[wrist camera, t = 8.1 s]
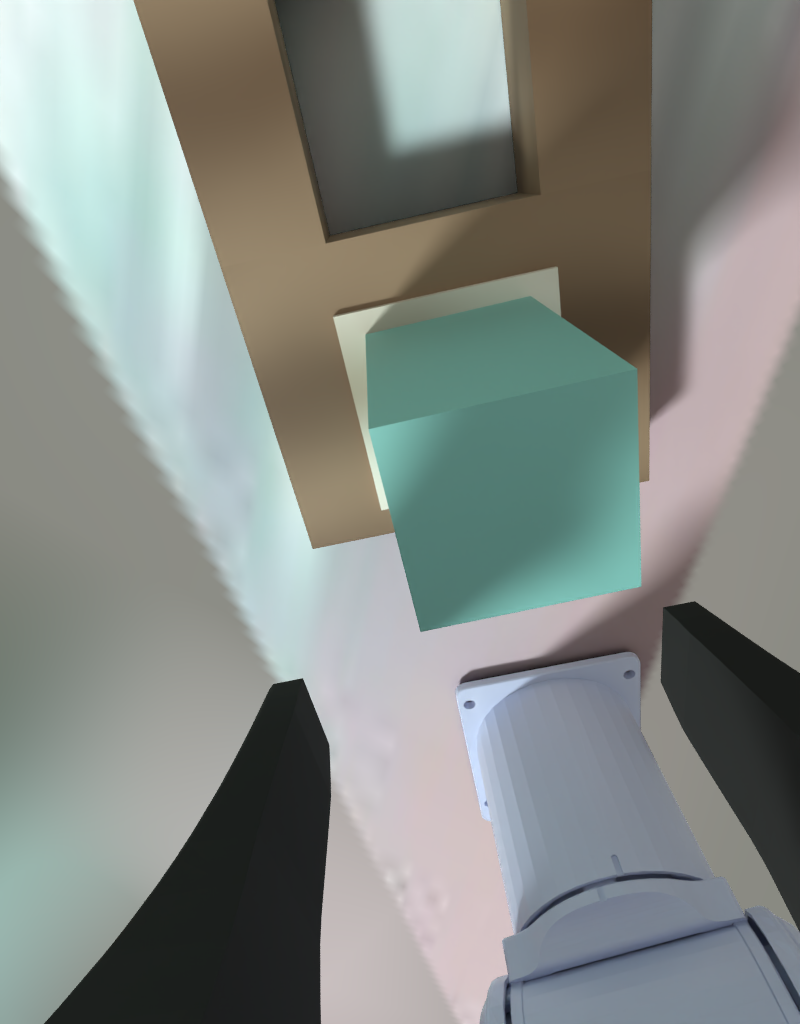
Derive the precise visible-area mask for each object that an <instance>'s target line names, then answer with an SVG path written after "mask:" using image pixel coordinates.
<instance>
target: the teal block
mask: <svg viewBox="0 0 800 1024" xmlns="http://www.w3.org/2000/svg"><path fill="white" fill-rule="evenodd" d="M365 338H366V369H367V400H368V429H369V433H370V437H371V441H372V445H373V449H374V453H375V457H376V461H377V464H378V468H379V472H380V476H381V480H382V484H383V488H384V492H385V495H386V499H387V503H388V507H389V511H390V515H391V519H392V523H393V527H394V530H395V534H396V538H397V542H398V546H399V550H400V554H401V558H402V561H403V565H404V569H405V573H406V577H407V581H408V585H409V589H410V593H411V596H412V600H413V604H414V608H415V612H416V616H417V620H418V624H419V627H420V631H421V632H422V631H427V630H432V629H437V628H442V627H447V626H452V625H456V624H461V623H466V622H471V621H476V620H481V619H486V618H490V617H495V616H500V615H505V614H510V613H515V612H520V611H525V610H529V609H534V608H539V607H544V606H549V605H554V604H559V603H563V602H568V601H573V600H578V599H583V598H588V597H593V596H598V595H602V594H607V593H612V592H617V591H622V590H627V589H632V588H636V587H641V547H640V491H639V436H638V380H637V368H635V367H634V366H632V365H631V364H629V363H628V362H627V361H625V360H624V359H622V358H621V357H619V356H618V355H616V354H615V353H613V352H612V351H610V350H609V349H607V348H606V347H605V346H603V345H602V344H600V343H599V342H597V341H596V340H594V339H593V338H591V337H590V336H588V335H587V334H586V333H584V332H583V331H581V330H580V329H578V328H577V327H575V326H574V325H572V324H571V323H569V322H568V321H566V320H565V319H564V318H562V317H561V316H559V315H558V314H556V313H555V312H553V311H552V310H550V309H549V308H547V307H546V306H545V305H543V304H542V303H540V302H539V301H537V300H536V299H534V298H533V297H531V296H528V297H524V298H520V299H515V300H511V301H507V302H502V303H498V304H494V305H490V306H485V307H481V308H477V309H472V310H468V311H464V312H460V313H455V314H451V315H447V316H442V317H438V318H434V319H430V320H425V321H421V322H417V323H413V324H408V325H404V326H400V327H395V328H391V329H387V330H383V331H378V332H374V333H370V334H365Z"/></svg>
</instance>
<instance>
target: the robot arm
mask: <svg viewBox="0 0 800 1024" xmlns="http://www.w3.org/2000/svg"><path fill="white" fill-rule="evenodd" d="M628 670H630V671H629V672H626V671H628ZM625 672H626V673H625ZM661 683H662V685H663V687H664V690H665V692H666V694H667V696H668V699H669V701H670V703H671V705H672V707H673V709H674V711H675V714H676V716H677V718H678V720H679V722H680V724H681V726H682V728H683V730H684V732H685V733H686V735H687V737H688V739H689V740H690V742H691V743H692V745H693V747H694V748H695V750H696V751H697V753H698V755H699V756H700V758H701V760H702V761H703V763H704V764H705V766H706V768H707V769H708V771H709V773H710V774H711V776H712V778H713V779H714V781H715V782H716V784H717V785H718V787H719V789H720V790H721V792H722V794H723V795H724V797H725V798H726V800H727V801H728V803H729V805H730V806H731V808H732V809H733V811H734V813H735V814H736V816H737V817H738V819H739V821H740V822H741V824H742V825H743V827H744V829H745V830H746V832H747V834H748V835H749V837H750V838H751V840H752V842H753V843H754V845H755V847H756V849H757V851H758V852H759V854H760V856H761V857H762V859H763V861H764V863H765V864H766V866H767V868H768V870H769V872H770V874H771V876H772V878H773V880H774V882H775V884H776V886H777V888H778V890H779V892H780V894H781V896H782V898H783V900H784V902H785V904H786V906H787V908H788V910H789V912H790V914H791V915H792V918H793V920H794V921H795V923H796V926H797V927H798V930H799V931H798V930H797V929H796V928H795V927H794V926H793V925H792V924H791V923H789V922H787V921H785V920H783V919H782V918H780V917H778V916H776V915H774V914H773V913H772V912H771V911H770V910H769V909H767V908H766V907H763V906H755V907H751V908H748V909H745V915H744V913H743V911H742V909H741V907H740V905H739V903H738V901H737V900H736V898H735V896H734V894H733V892H732V890H731V888H730V886H729V884H728V882H727V880H726V879H725V878H724V877H716V878H715V876H714V874H713V872H712V870H711V868H710V866H709V864H708V862H707V861H706V858H705V856H704V854H703V852H702V850H701V849H700V847H699V845H698V843H697V841H696V839H695V837H694V835H693V833H692V831H691V829H690V827H689V825H688V823H687V821H686V819H685V817H684V815H683V813H682V811H681V809H680V807H679V805H678V803H677V801H676V799H675V797H674V795H673V793H672V791H671V790H670V788H669V786H668V784H667V782H666V780H665V778H664V776H663V774H662V772H661V770H660V768H659V766H658V764H657V762H656V760H655V758H654V756H653V754H652V752H651V750H650V748H649V746H648V745H647V742H646V740H645V738H644V736H643V735H642V732H641V730H640V729H641V724H640V720H641V711H640V660H639V658H638V657H637V655H636V654H635V653H633V652H623V653H618V654H613V655H607V656H602V657H597V658H592V659H586V660H581V661H576V662H571V663H565V664H560V665H555V666H550V667H544V668H539V669H534V670H529V671H523V672H518V673H513V674H508V675H502V676H497V677H492V678H487V679H481V680H476V681H471V682H466V683H462V684H460V685H459V686H458V687H457V688H456V692H455V693H456V699H457V703H458V708H459V712H460V717H461V722H462V726H463V731H464V735H465V740H466V745H467V749H468V754H469V759H470V763H471V768H472V772H473V777H474V782H475V786H476V791H477V795H478V800H479V805H480V809H481V814H482V817H483V819H485V820H487V821H491V824H492V828H493V833H494V838H495V843H496V848H497V853H498V858H499V863H500V868H501V873H502V878H503V882H504V887H505V892H506V897H507V902H508V907H509V912H510V917H511V922H512V927H513V932H514V935H513V936H510V937H507V938H504V939H503V940H502V944H503V949H504V954H505V960H506V965H507V971H508V975H505V976H501V977H498V978H496V979H495V980H493V981H492V983H491V985H490V987H489V990H488V994H487V999H486V1001H485V1004H484V1006H483V1009H482V1012H481V1016H480V1024H800V673H799V672H797V671H796V670H794V669H792V668H791V667H789V666H788V665H787V664H785V663H784V662H782V661H780V660H779V659H777V658H776V657H774V656H773V655H771V654H770V653H768V652H767V651H766V650H764V649H763V648H761V647H760V646H758V645H757V644H755V643H754V642H752V641H751V640H750V639H748V638H747V637H745V636H744V635H742V634H741V633H739V632H738V631H737V630H735V629H734V628H732V627H731V626H729V625H728V624H727V623H725V622H723V621H722V620H721V619H719V618H718V617H717V616H715V615H714V614H712V613H711V612H709V611H708V610H707V609H705V608H704V607H702V606H701V605H699V604H698V603H696V602H690V603H684V604H679V605H674V606H669V607H664V608H663V632H662V661H661ZM466 701H471V702H466ZM330 801H331V777H330V751H329V743H328V741H327V738H326V736H325V733H324V731H323V728H322V725H321V723H320V720H319V718H318V715H317V713H316V710H315V708H314V705H313V703H312V700H311V698H310V695H309V693H308V690H307V688H306V685H305V683H304V680H303V678H302V679H297V680H292V681H287V682H282V683H277V684H273V685H272V687H271V688H270V689H269V692H268V694H267V696H266V698H265V700H264V702H263V704H262V706H261V708H260V710H259V712H258V714H257V716H256V719H255V721H254V723H253V725H252V727H251V729H250V731H249V733H248V735H247V737H246V738H245V741H244V742H243V744H242V746H241V748H240V750H239V752H238V754H237V756H236V758H235V759H234V762H233V763H232V765H231V767H230V769H229V771H228V772H227V774H226V776H225V778H224V780H223V782H222V783H221V786H220V787H219V789H218V791H217V792H216V794H215V796H214V797H213V799H212V801H211V803H210V804H209V806H208V807H207V809H206V811H205V812H204V814H203V816H202V817H201V819H200V821H199V822H198V824H197V826H196V827H195V829H194V831H193V832H192V834H191V836H190V837H189V839H188V840H187V842H186V843H185V845H184V846H183V848H182V849H181V851H180V852H179V854H178V856H177V857H176V859H175V860H174V861H173V863H172V864H171V866H170V867H169V869H168V870H167V872H166V873H165V874H164V876H163V877H162V879H161V880H160V882H159V883H158V884H157V886H156V887H155V889H154V890H153V891H152V893H151V894H150V895H149V897H148V898H147V899H146V901H145V902H144V904H143V905H142V906H141V908H140V909H139V910H138V911H137V913H136V914H135V916H134V917H133V918H132V919H131V921H130V922H129V923H128V925H127V926H126V927H125V929H124V930H123V931H122V932H121V934H120V935H119V936H118V938H117V939H116V940H115V942H114V943H113V944H112V945H111V946H110V948H109V949H108V950H107V951H106V953H105V954H104V955H103V956H102V957H101V958H100V960H99V961H98V962H97V963H96V964H95V966H94V967H93V968H92V969H91V970H90V971H89V973H88V974H87V975H86V976H85V977H84V978H83V980H82V981H81V982H80V983H79V984H78V985H77V987H76V988H75V989H74V990H73V991H72V992H71V994H70V995H69V996H68V997H67V998H66V1000H65V1001H64V1002H63V1003H62V1004H61V1005H60V1007H59V1008H58V1009H57V1010H56V1011H55V1012H54V1013H53V1014H52V1015H51V1017H50V1018H49V1019H48V1020H47V1021H46V1022H45V1023H44V1024H321V1010H320V935H321V915H322V902H323V890H324V878H325V866H326V854H327V842H328V841H327V840H328V829H329V816H330Z"/></svg>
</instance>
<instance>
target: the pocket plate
mask: <svg viewBox="0 0 800 1024" xmlns="http://www.w3.org/2000/svg"><path fill="white" fill-rule="evenodd" d="M134 3H135V6H136V9H137V13H138V16H139V19H140V22H141V25H142V28H143V31H144V34H145V37H146V40H147V43H148V46H149V49H150V52H151V55H152V58H153V61H154V65H155V68H156V71H157V74H158V77H159V80H160V83H161V86H162V89H163V92H164V95H165V98H166V101H167V104H168V107H169V110H170V113H171V117H172V120H173V123H174V126H175V129H176V132H177V135H178V138H179V141H180V144H181V147H182V150H183V153H184V156H185V159H186V162H187V165H188V168H189V172H190V175H191V178H192V181H193V184H194V187H195V190H196V193H197V196H198V199H199V202H200V205H201V208H202V211H203V214H204V217H205V220H206V224H207V227H208V230H209V233H210V236H211V239H212V242H213V245H214V248H215V251H216V254H217V257H218V260H219V263H220V266H221V269H222V272H223V276H224V279H225V282H226V285H227V288H228V291H229V294H230V297H231V300H232V303H233V306H234V309H235V312H236V315H237V318H238V321H239V324H240V327H241V331H242V334H243V337H244V340H245V343H246V346H247V349H248V352H249V355H250V358H251V361H252V364H253V367H254V370H255V373H256V376H257V379H258V383H259V386H260V389H261V392H262V395H263V398H264V401H265V404H266V407H267V410H268V413H269V416H270V419H271V422H272V425H273V428H274V431H275V435H276V438H277V441H278V444H279V447H280V450H281V453H282V456H283V459H284V462H285V465H286V468H287V471H288V474H289V477H290V480H291V483H292V487H293V490H294V493H295V496H296V499H297V502H298V505H299V508H300V511H301V514H302V517H303V520H304V523H305V526H306V529H307V532H308V535H309V538H310V542H311V545H312V548H313V549H315V548H320V547H325V546H330V545H335V544H340V543H345V542H350V541H355V540H359V539H364V538H369V537H374V536H379V535H384V534H389V533H394V532H395V530H394V527H393V523H392V519H391V515H390V511H389V507H388V503H387V499H386V495H385V492H384V488H383V484H382V480H381V476H380V472H379V468H378V464H377V461H376V457H375V453H374V449H373V445H372V441H371V437H370V433H369V429H368V400H367V369H366V338H365V334H370V333H374V332H378V331H383V330H387V329H391V328H395V327H400V326H404V325H408V324H413V323H417V322H421V321H425V320H430V319H434V318H438V317H442V316H447V315H451V314H455V313H460V312H464V311H468V310H472V309H477V308H481V307H485V306H490V305H494V304H498V303H502V302H507V301H511V300H515V299H520V298H524V297H528V296H531V297H533V298H534V299H536V300H537V301H539V302H540V303H542V304H543V305H545V306H546V307H547V308H549V309H550V310H552V311H553V312H555V313H556V314H558V315H559V316H561V317H562V318H564V319H565V320H566V321H568V322H569V323H571V324H572V325H574V326H575V327H577V328H578V329H580V330H581V331H583V332H584V333H586V334H587V335H588V336H590V337H591V338H593V339H594V340H596V341H597V342H599V343H600V344H602V345H603V346H605V347H606V348H607V349H609V350H610V351H612V352H613V353H615V354H616V355H618V356H619V357H621V358H622V359H624V360H625V361H627V362H628V363H629V364H631V365H632V366H634V367H635V368H637V380H638V436H639V483H640V482H645V481H649V427H650V261H651V95H652V0H500V6H501V17H502V27H503V38H504V49H505V60H506V71H507V82H508V93H509V104H510V115H511V126H512V137H513V147H514V158H515V169H516V180H517V191H518V193H515V194H510V195H506V196H501V197H497V198H493V199H488V200H484V201H479V202H475V203H471V204H466V205H462V206H458V207H453V208H449V209H444V210H440V211H436V212H431V213H427V214H423V215H418V216H414V217H409V218H405V219H401V220H396V221H392V222H387V223H383V224H379V225H374V226H370V227H366V228H361V229H357V230H352V231H348V232H344V233H339V234H335V235H331V236H330V233H329V229H328V225H327V221H326V216H325V212H324V208H323V204H322V199H321V195H320V191H319V187H318V182H317V178H316V174H315V170H314V166H313V161H312V157H311V153H310V149H309V144H308V140H307V136H306V132H305V128H304V123H303V119H302V115H301V111H300V106H299V102H298V98H297V94H296V89H295V85H294V81H293V77H292V73H291V68H290V64H289V60H288V56H287V51H286V47H285V43H284V39H283V35H282V30H281V26H280V22H279V18H278V13H277V9H276V5H275V1H274V0H134Z"/></svg>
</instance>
